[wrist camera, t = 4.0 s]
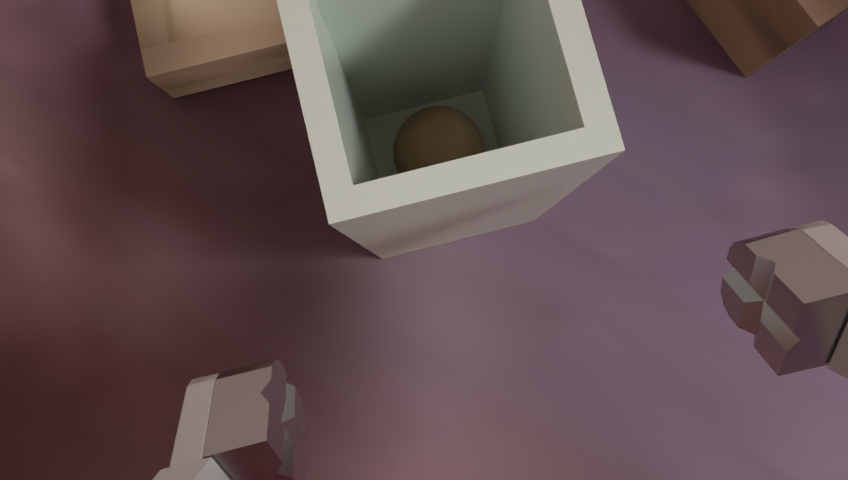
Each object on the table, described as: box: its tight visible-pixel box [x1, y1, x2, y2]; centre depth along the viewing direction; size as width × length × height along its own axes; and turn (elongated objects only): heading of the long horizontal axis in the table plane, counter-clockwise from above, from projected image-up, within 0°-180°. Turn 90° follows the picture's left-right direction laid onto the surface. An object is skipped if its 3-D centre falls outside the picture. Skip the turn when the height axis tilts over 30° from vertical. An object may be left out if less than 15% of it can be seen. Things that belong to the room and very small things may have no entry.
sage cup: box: [276, 0, 625, 259], centre depth 15 cm, size 6×6×10 cm
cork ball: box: [393, 106, 484, 174], centre depth 18 cm, size 3×3×3 cm
